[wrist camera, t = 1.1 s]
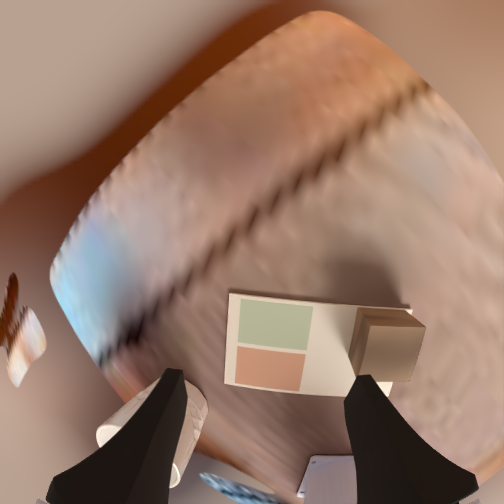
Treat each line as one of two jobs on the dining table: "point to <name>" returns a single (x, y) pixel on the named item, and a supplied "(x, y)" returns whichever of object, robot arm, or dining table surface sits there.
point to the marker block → (385, 344)
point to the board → (291, 345)
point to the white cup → (189, 432)
